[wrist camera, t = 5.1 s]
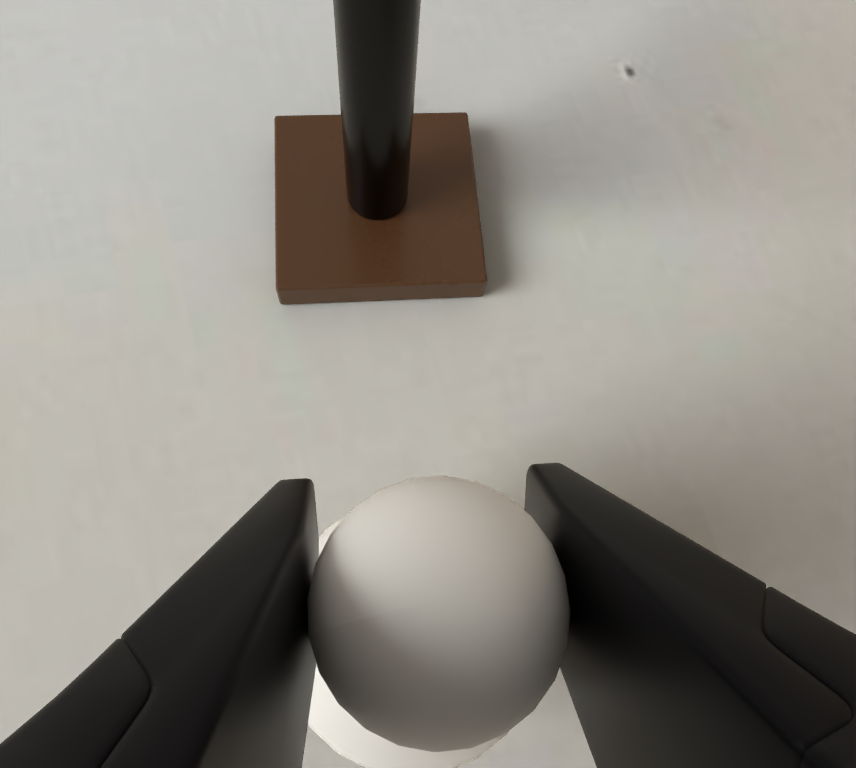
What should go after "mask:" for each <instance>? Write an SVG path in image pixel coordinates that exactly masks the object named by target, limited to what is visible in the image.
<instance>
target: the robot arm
mask: <svg viewBox="0 0 856 768" xmlns="http://www.w3.org/2000/svg"><path fill="white" fill-rule="evenodd" d="M525 511H526V512H527V513H528V514H529V515H531V516H532V518H533V519H534V520H535V522H536V523H537V524H538V526H539V527H540V528H541V530H542V531H543V532H544V534H545V535H546V536H547V538H548V539H549V540H550V542H551V543H552V545H553V548H554V550H555V552H556V555H557V557H558V560H559V562H560V564H561V567H562V569H563V571H564V574H565V578H566V584H567V591H568V597H569V604H570V610H571V611H570V621H569V632H568V643H567V648H566V651H565V653H564V656H563V659H562V662H561V664H560V668H561V671H562V674H563V676H564V679H565V682H566V685H567V687H568V690H569V693H570V696H571V698H572V701H573V704H574V706H575V709H576V712H577V715H578V717H579V720H580V723H581V725H582V728H583V731H584V734H585V736H586V739H587V742H588V745H589V747H590V750H591V753H592V755H593V758H594V761H595V764H596V766H597V768H856V634H854V633H852V632H850V631H848V630H846V629H844V628H843V627H841V626H839V625H837V624H835V623H834V622H832V621H830V620H828V619H827V618H825V617H823V616H821V615H819V614H818V613H816V612H814V611H812V610H811V609H809V608H807V607H805V606H803V605H802V604H800V603H798V602H796V601H795V600H793V599H791V598H790V597H788V596H786V595H785V594H783V593H781V592H779V591H778V590H776V589H774V588H773V587H768V588H767V589H766V584H765V583H764V582H762V581H760V580H759V579H757V578H755V577H754V576H752V575H750V574H748V573H747V572H745V571H743V570H742V569H740V568H738V567H737V566H735V565H733V564H731V563H730V562H728V561H726V560H725V559H723V558H721V557H719V556H718V555H716V554H714V553H713V552H711V551H709V550H708V549H706V548H704V547H702V546H701V545H699V544H697V543H696V542H694V541H692V540H690V539H689V538H687V537H685V536H684V535H682V534H680V533H679V532H677V531H675V530H673V529H672V528H670V527H668V526H667V525H665V524H663V523H661V522H660V521H658V520H656V519H655V518H653V517H651V516H650V515H648V514H646V513H644V512H643V511H641V510H639V509H638V508H636V507H634V506H632V505H631V504H629V503H627V502H626V501H624V500H622V499H621V498H619V497H617V496H615V495H614V494H612V493H610V492H609V491H607V490H605V489H603V488H602V487H600V486H598V485H597V484H595V483H593V482H592V481H590V480H588V479H586V478H585V477H583V476H581V475H580V474H578V473H576V472H574V471H573V470H571V469H569V468H568V467H566V466H564V465H562V464H560V463H545V464H534V465H531V466H530V467H529V469H528V471H527V476H526V493H525ZM318 558H319V538H318V525H317V514H316V503H315V492H314V485H313V482H312V480H310V479H307V478H305V479H289V480H281V481H279V482H278V483H277V484H275V485H274V486H273V487H272V488H271V489H270V490H269V491H268V492H267V493H266V494H265V495H264V496H263V497H262V498H261V499H260V500H259V501H258V502H257V503H256V504H255V505H254V506H253V507H252V508H251V509H250V510H249V511H248V512H247V513H246V514H245V515H244V516H243V517H242V518H241V519H240V520H239V521H238V522H237V523H236V524H235V525H234V526H233V527H231V528H230V529H229V530H228V531H227V532H226V533H225V534H224V535H223V536H222V537H221V538H220V539H219V540H218V541H217V542H216V543H215V544H214V545H213V546H212V547H211V548H210V549H209V550H208V551H207V552H206V553H205V554H204V555H203V556H202V557H201V558H200V559H199V560H198V561H197V562H196V563H195V564H194V565H193V566H192V567H191V568H190V569H189V570H188V571H186V572H185V573H184V574H183V575H182V576H181V577H180V578H179V579H178V580H177V581H176V582H175V583H174V584H173V585H172V586H171V587H170V588H169V589H168V590H167V591H166V592H165V593H164V594H163V595H162V596H161V597H160V598H159V599H158V600H157V601H156V602H155V603H154V604H153V605H152V606H151V607H150V608H149V609H148V610H147V611H146V612H145V613H144V614H142V615H141V616H140V617H139V618H138V619H137V620H136V621H135V622H134V623H133V624H132V625H131V626H130V627H129V628H128V629H127V630H126V631H125V632H124V633H123V634H122V637H121V639H117V640H116V641H114V642H113V643H112V644H111V645H110V646H109V647H108V648H107V649H106V650H105V651H104V652H103V653H102V654H101V655H100V656H99V657H98V658H97V659H96V660H95V661H94V662H93V663H92V664H91V665H90V666H89V667H88V668H86V669H85V670H84V671H83V672H82V673H81V674H80V675H79V676H78V677H77V678H76V679H75V680H74V681H72V682H71V683H70V684H69V685H68V686H67V687H66V688H65V689H64V690H63V691H62V692H61V693H60V694H58V695H57V696H56V697H55V698H54V699H53V700H52V701H50V702H49V703H48V704H47V705H46V706H45V707H43V708H42V709H41V710H40V711H39V712H38V713H36V714H35V715H34V716H33V717H32V718H30V719H29V720H28V721H27V722H26V723H25V724H23V725H22V726H21V727H20V728H19V729H18V730H16V731H15V732H14V733H13V734H12V735H10V736H9V737H8V738H7V739H6V740H4V741H3V742H2V743H1V744H0V768H302V761H303V754H304V747H305V740H306V733H307V726H308V719H309V712H310V705H311V698H312V691H313V684H314V677H315V669H316V661H315V657H314V654H313V651H312V647H311V644H310V640H309V637H308V609H307V598H308V594H309V589H310V585H311V580H312V576H313V571H314V567H315V564H316V562H317V560H318Z"/></svg>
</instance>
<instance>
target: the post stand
mask: <svg viewBox="0 0 856 768" xmlns="http://www.w3.org/2000/svg"><path fill="white" fill-rule="evenodd" d="M333 4H334V18H335V33H336V47H337V62H338V76H339V90H340V105H341V115H301V116H276V117H275V237H276V291H277V294H278V298H279V301H280V303H281V304H304V303H328V302H353V301H377V300H402V299H426V298H451V297H475V296H482V295H483V292H484V289H485V286H486V282H487V275H486V266H485V258H484V249H483V241H482V232H481V224H480V215H479V207H478V198H477V190H476V181H475V173H474V164H473V156H472V147H471V139H470V130H469V122H468V115H467V113H413V109H414V94H415V79H416V64H417V49H418V34H419V19H420V4H421V0H333Z"/></svg>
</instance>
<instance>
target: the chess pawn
mask: <svg viewBox="0 0 856 768" xmlns="http://www.w3.org/2000/svg"><path fill="white" fill-rule="evenodd" d="M307 609H308V637H309V640H310V644H311V647H312V651H313V654H314V657H315V661H316V669H315V677H314V684H313V691H312V698H311V705H310V712H309V719H308V725H309V726H310V728H311V729H312V730H313V731H315V732H316V733H317V734H318V735H319V736H320V737H321V738H322V739H323V740H324V741H325V742H326V743H327V744H328V745H329V746H330V747H331V748H332V749H333V750H335V751H336V752H337V753H338V754H340V755H342V756H344V757H346V758H348V759H350V760H352V761H354V762H356V763H358V764H360V765H362V766H363V767H365V768H456V767H458V766H460V765H463V764H465V763H467V762H469V761H472V760H474V759H476V758H478V757H480V756H481V755H482V754H483V753H484V752H486V751H487V750H488V749H489V748H491V747H492V746H493V745H494V744H495V743H497V742H498V741H499V740H500V739H502V738H503V737H504V736H505V735H506V734H507V733H508V732H509V730H510V729H512V728H513V727H514V726H515V725H517V724H518V723H519V722H520V721H521V720H523V719H524V718H525V717H526V716H528V715H529V714H530V713H531V712H532V711H533V710H534V709H535V708H536V706H537V705H538V703H539V702H540V701H541V699H542V698H543V696H544V695H545V693H546V692H547V691H548V689H549V688H550V686H551V685H552V683H553V682H554V681H555V678H556V676H557V673H558V670H559V667H560V664H561V662H562V659H563V656H564V653H565V651H566V648H567V643H568V632H569V621H570V611H571V610H570V604H569V597H568V591H567V584H566V578H565V574H564V571H563V569H562V567H561V564H560V562H559V560H558V557H557V555H556V552H555V550H554V548H553V545H552V543H551V542H550V540H549V539H548V538H547V536H546V535H545V534H544V532H543V531H542V530H541V528H540V527H539V526H538V524H537V523H536V522H535V520H534V519H533V518H532V516H531V515H529V514H528V513H527V512H526V511H524V510H523V509H522V508H521V507H520V506H518V505H517V504H516V503H515V502H513V501H512V500H511V499H510V498H508V497H507V496H506V495H504V494H502V493H500V492H498V491H495V490H493V489H491V488H489V487H487V486H485V485H483V484H480V483H478V482H476V481H470V480H465V479H459V478H454V477H448V476H435V477H422V478H412V479H409V480H406V481H403V482H400V483H397V484H394V485H392V486H389V487H386V488H383V489H381V490H379V491H378V492H376V493H375V494H373V495H372V496H370V497H369V498H367V499H366V500H364V501H363V502H361V503H360V504H358V505H357V506H356V507H354V508H353V509H352V510H351V511H350V512H349V513H348V514H347V515H346V516H344V517H343V518H341V519H340V520H338V521H337V522H335V523H334V524H332V525H331V526H329V527H328V528H327V529H326V530H325V531H324V532H323V533H322V535H321V536H320V537H319V558H318V560H317V562H316V564H315V567H314V571H313V576H312V580H311V585H310V589H309V594H308V598H307Z"/></svg>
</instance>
